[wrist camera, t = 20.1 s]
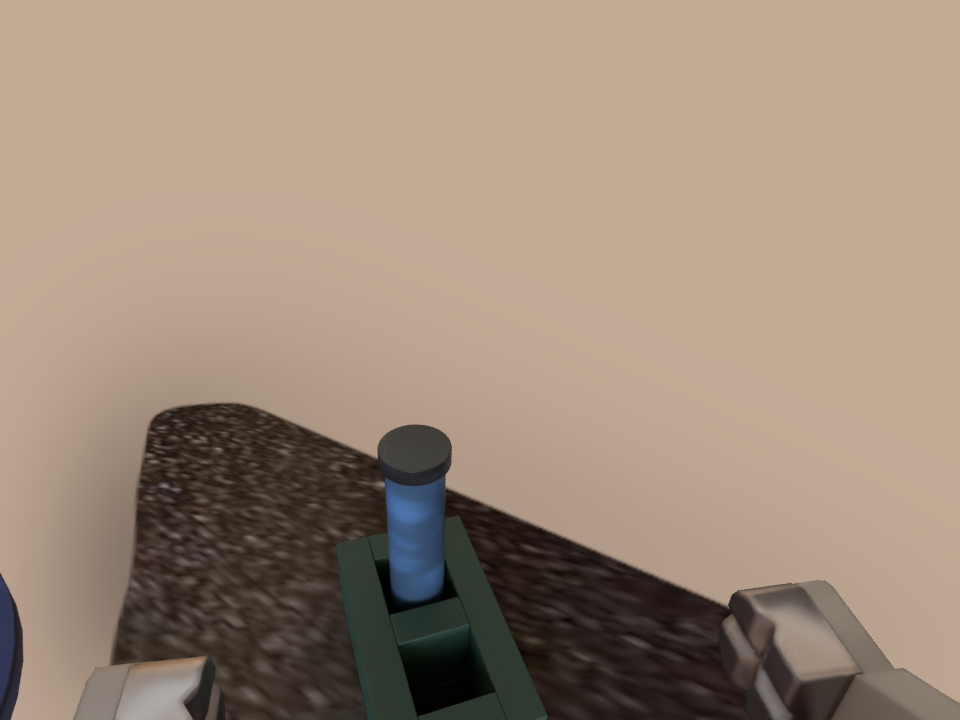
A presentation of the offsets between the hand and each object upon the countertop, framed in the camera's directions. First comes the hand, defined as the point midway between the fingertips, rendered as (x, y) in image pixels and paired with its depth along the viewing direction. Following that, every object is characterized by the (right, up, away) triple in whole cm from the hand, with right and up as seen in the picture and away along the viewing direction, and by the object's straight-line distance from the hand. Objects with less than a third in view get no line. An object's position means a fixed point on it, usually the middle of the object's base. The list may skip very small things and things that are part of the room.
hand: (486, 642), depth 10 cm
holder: (-3, -14, +30) cm, 33 cm away
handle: (-4, -13, +32) cm, 35 cm away
